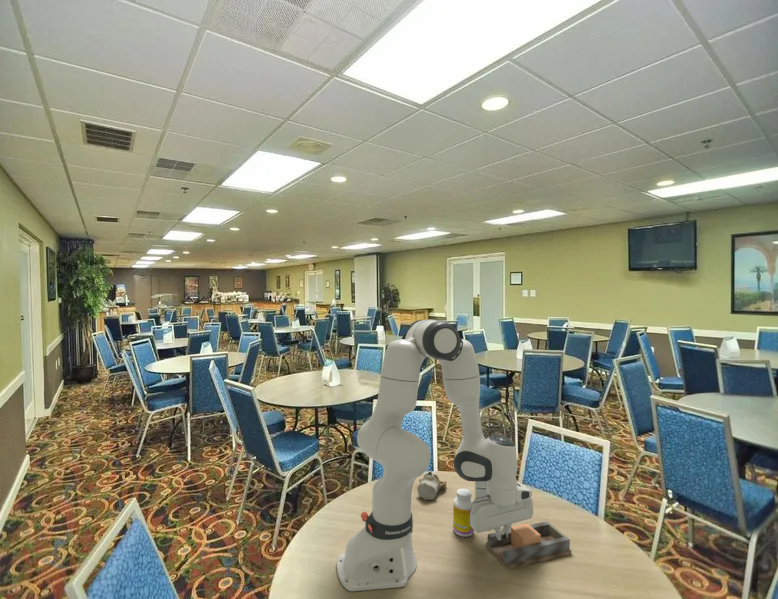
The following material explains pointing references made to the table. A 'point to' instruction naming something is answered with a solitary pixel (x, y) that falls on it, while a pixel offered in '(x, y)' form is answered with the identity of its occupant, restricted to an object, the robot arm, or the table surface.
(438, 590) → the table surface
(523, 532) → the peach block
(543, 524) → the chute
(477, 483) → the syrup box
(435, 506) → the table surface
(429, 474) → the ceramic sculpture
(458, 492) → the supplement bottle
